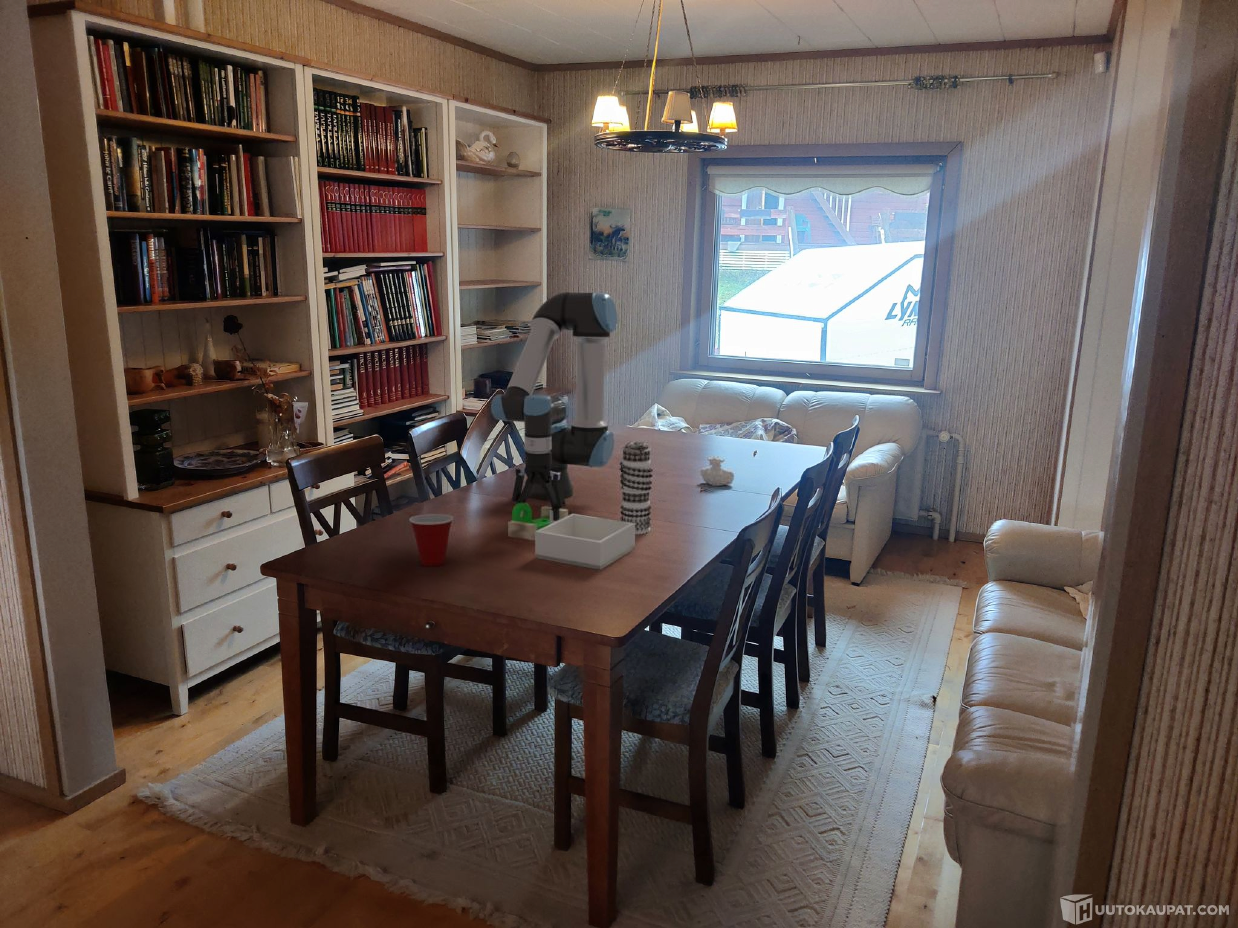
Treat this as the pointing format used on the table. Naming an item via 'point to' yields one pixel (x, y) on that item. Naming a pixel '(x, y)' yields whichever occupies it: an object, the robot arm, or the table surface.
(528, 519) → the mechanical part
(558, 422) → the robot arm
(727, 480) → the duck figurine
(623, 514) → the decorative candle
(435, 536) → the plastic cup
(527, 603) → the table surface
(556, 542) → the bin
